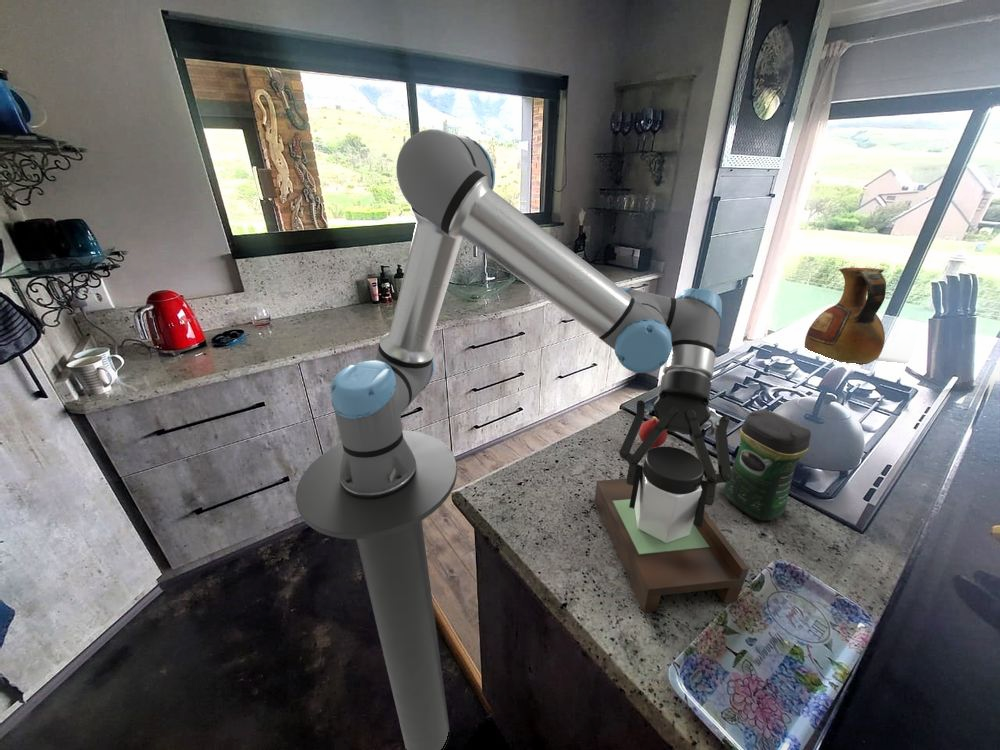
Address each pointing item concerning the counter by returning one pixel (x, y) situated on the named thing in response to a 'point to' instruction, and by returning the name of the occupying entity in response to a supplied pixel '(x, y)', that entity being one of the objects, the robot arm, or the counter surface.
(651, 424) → the onion
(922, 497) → the counter surface
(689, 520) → the jar
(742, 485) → the coffee jar
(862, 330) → the ceramic pitcher
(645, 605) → the shelf
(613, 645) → the counter surface
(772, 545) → the counter surface
